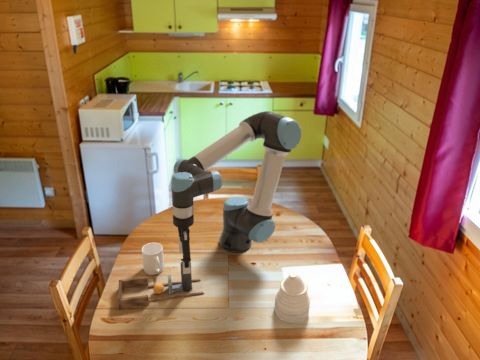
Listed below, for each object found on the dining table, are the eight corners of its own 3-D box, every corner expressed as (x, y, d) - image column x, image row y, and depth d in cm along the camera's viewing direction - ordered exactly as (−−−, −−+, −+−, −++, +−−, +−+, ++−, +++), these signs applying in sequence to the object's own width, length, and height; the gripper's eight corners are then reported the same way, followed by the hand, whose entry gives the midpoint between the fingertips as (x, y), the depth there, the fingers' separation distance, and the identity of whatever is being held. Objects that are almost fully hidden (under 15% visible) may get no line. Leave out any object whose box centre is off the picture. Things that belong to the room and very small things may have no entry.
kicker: (191, 282, 161) (189, 258, 156) (192, 292, 156) (191, 267, 151) (168, 285, 159) (166, 261, 154) (169, 295, 154) (167, 271, 149)
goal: (148, 284, 160) (147, 276, 159) (149, 304, 150) (148, 296, 148) (120, 288, 158) (118, 280, 156) (118, 309, 147) (117, 301, 146)
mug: (150, 282, 161) (148, 261, 157) (140, 266, 170) (138, 246, 166) (170, 275, 165) (168, 254, 161) (160, 260, 174) (158, 240, 170)
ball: (163, 288, 158) (163, 280, 156) (164, 295, 155) (163, 287, 153) (153, 290, 157) (152, 282, 156) (154, 296, 154) (153, 288, 152)
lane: (200, 279, 163) (200, 278, 163) (203, 293, 156) (203, 292, 156) (148, 286, 159) (148, 285, 159) (148, 301, 151) (148, 300, 151)
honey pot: (300, 328, 141) (304, 288, 133) (268, 313, 147) (270, 275, 139) (314, 306, 151) (318, 268, 143) (283, 293, 157) (286, 256, 149)
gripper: (170, 199, 154) (172, 244, 163) (175, 233, 132) (178, 284, 141) (189, 197, 155) (190, 243, 164) (198, 231, 133) (199, 281, 142)
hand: (184, 262), depth 152 cm, fingers open, 13 cm apart
